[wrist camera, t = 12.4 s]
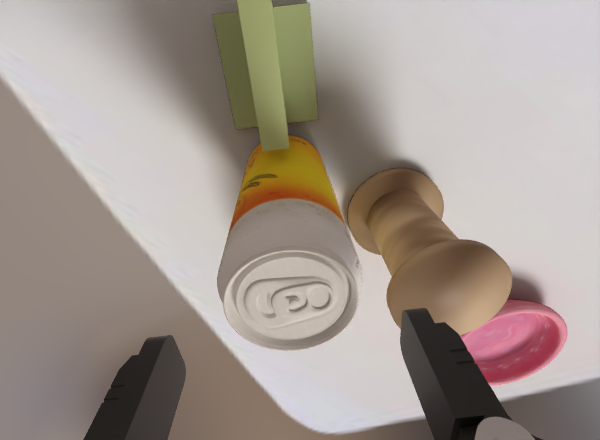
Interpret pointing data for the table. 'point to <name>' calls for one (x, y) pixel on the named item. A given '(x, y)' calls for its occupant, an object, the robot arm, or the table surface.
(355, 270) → the beer can
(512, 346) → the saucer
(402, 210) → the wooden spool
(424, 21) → the table surface
